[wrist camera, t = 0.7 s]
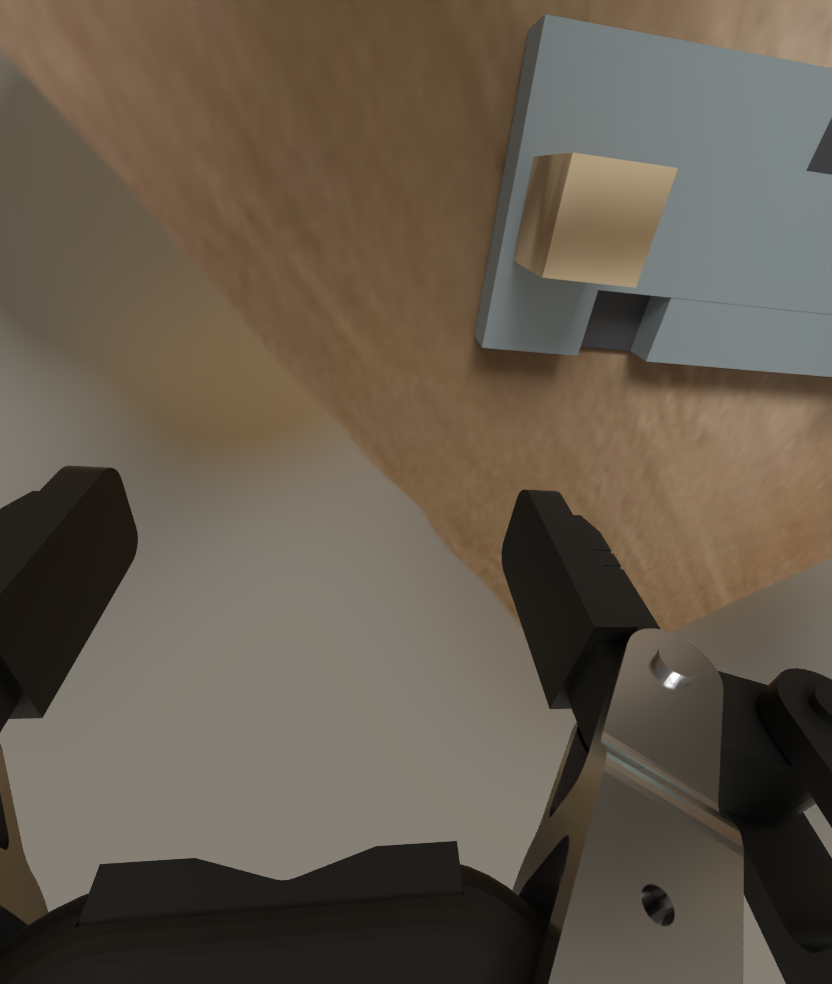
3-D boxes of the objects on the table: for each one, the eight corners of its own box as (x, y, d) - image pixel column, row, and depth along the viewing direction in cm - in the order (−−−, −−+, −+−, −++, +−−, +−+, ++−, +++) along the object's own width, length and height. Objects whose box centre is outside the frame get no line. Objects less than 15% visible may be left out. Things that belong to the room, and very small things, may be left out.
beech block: (534, 156, 22) (572, 152, 18) (621, 169, 22) (678, 168, 18) (512, 260, 24) (542, 277, 20) (591, 269, 25) (635, 287, 21)
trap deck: (528, 28, 21) (572, -10, 17) (1020, 119, 25) (1162, 107, 20) (474, 336, 29) (493, 365, 24) (854, 369, 33) (930, 399, 28)
